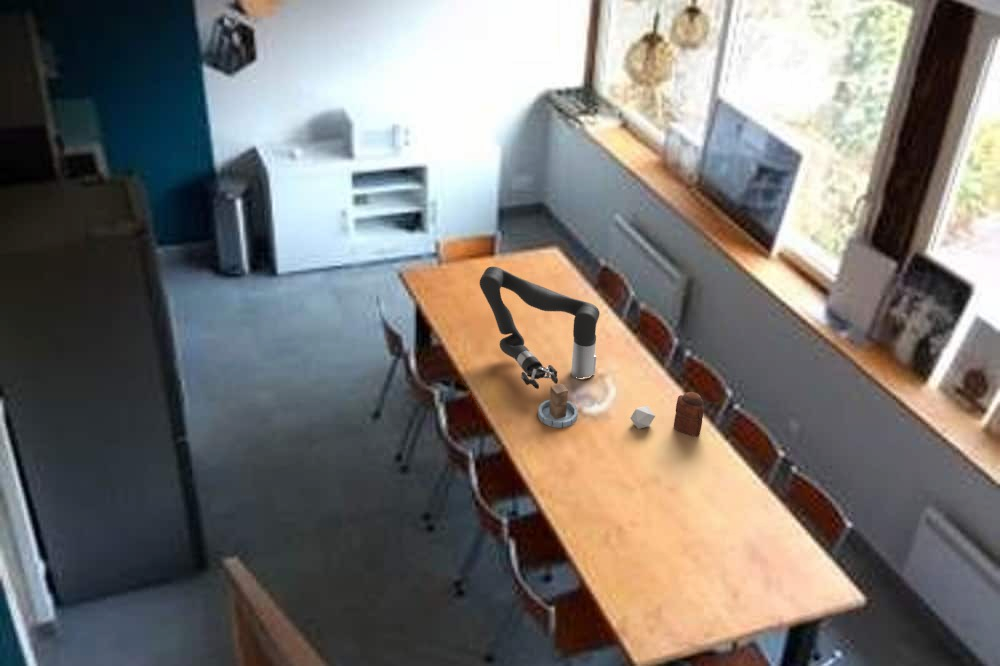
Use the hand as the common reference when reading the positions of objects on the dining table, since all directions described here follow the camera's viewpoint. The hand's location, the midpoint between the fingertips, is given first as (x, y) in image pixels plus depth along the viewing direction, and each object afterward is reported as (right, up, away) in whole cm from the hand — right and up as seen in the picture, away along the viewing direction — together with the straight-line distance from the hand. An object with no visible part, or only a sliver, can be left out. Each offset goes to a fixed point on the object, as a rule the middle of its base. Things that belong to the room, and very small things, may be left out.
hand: (547, 384), depth 422 cm
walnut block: (+4, -12, -3) cm, 13 cm away
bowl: (+4, -12, -3) cm, 13 cm away
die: (+37, -16, -6) cm, 41 cm away
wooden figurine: (+55, -18, -8) cm, 59 cm away
